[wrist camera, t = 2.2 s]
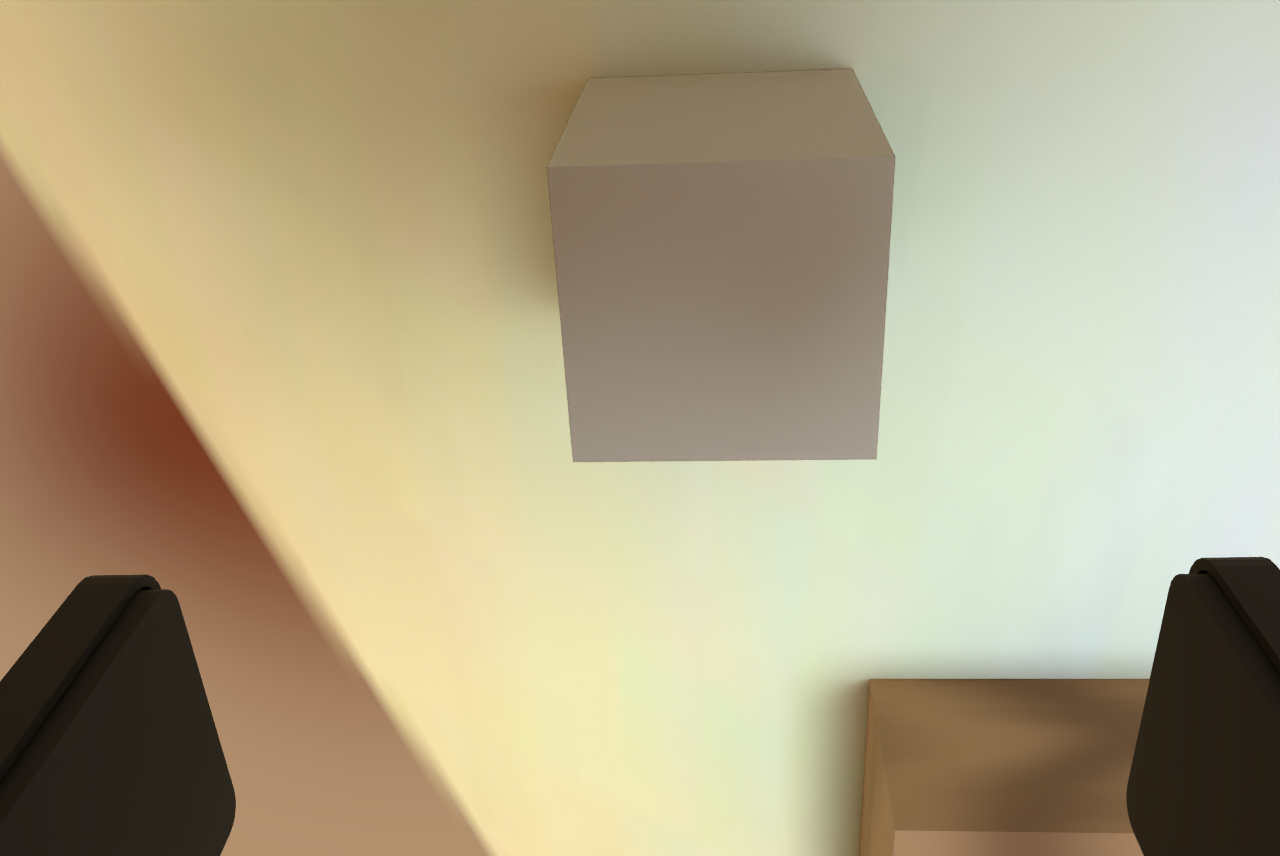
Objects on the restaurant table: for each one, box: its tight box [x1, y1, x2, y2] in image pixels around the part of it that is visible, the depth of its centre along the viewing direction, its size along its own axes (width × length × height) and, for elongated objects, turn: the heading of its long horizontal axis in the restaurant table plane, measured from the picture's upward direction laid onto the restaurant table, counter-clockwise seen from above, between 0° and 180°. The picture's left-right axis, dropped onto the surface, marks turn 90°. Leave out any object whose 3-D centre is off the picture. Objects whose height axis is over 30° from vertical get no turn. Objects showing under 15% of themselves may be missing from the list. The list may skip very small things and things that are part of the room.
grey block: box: [547, 69, 895, 462], centre depth 20 cm, size 5×5×6 cm
